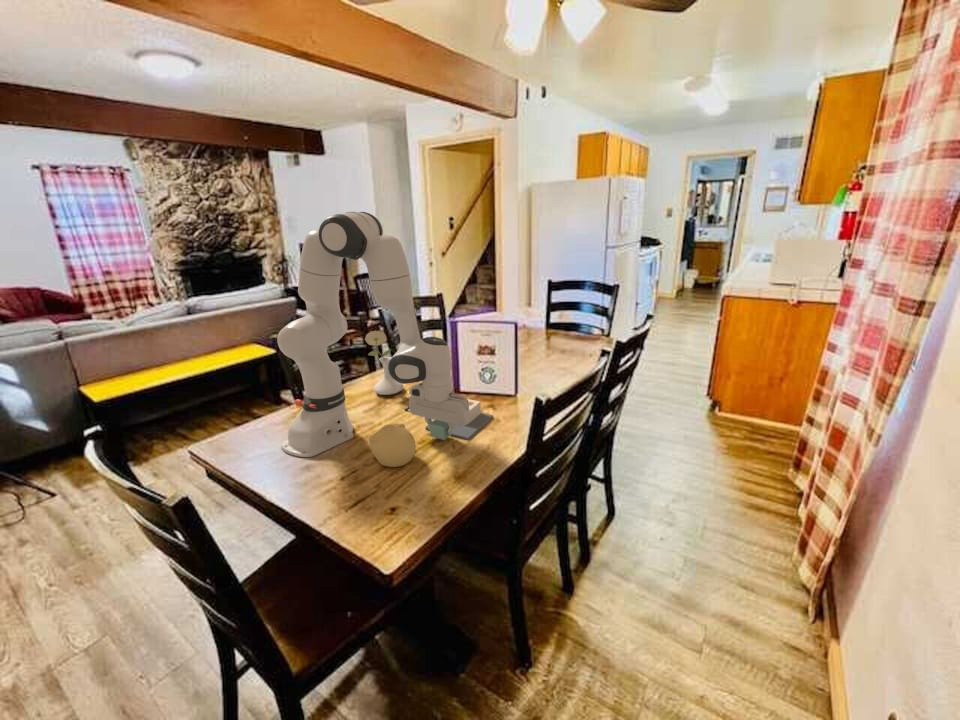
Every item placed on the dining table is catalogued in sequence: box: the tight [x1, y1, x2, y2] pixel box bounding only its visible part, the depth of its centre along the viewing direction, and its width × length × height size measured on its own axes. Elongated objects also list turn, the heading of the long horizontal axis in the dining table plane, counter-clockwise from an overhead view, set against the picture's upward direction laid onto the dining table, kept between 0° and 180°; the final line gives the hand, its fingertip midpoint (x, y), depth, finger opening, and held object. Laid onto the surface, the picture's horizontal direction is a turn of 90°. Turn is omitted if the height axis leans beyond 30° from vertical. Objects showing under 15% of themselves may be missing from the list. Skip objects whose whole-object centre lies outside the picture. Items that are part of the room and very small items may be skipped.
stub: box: [429, 419, 451, 441], centre depth 135 cm, size 4×5×4 cm
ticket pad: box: [425, 398, 494, 441], centre depth 144 cm, size 17×16×5 cm
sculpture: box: [368, 423, 417, 468], centre depth 123 cm, size 12×12×11 cm
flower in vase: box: [364, 330, 404, 396], centre depth 168 cm, size 13×11×25 cm
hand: (440, 431), depth 135 cm, fingers closed on stub, 5 cm apart
